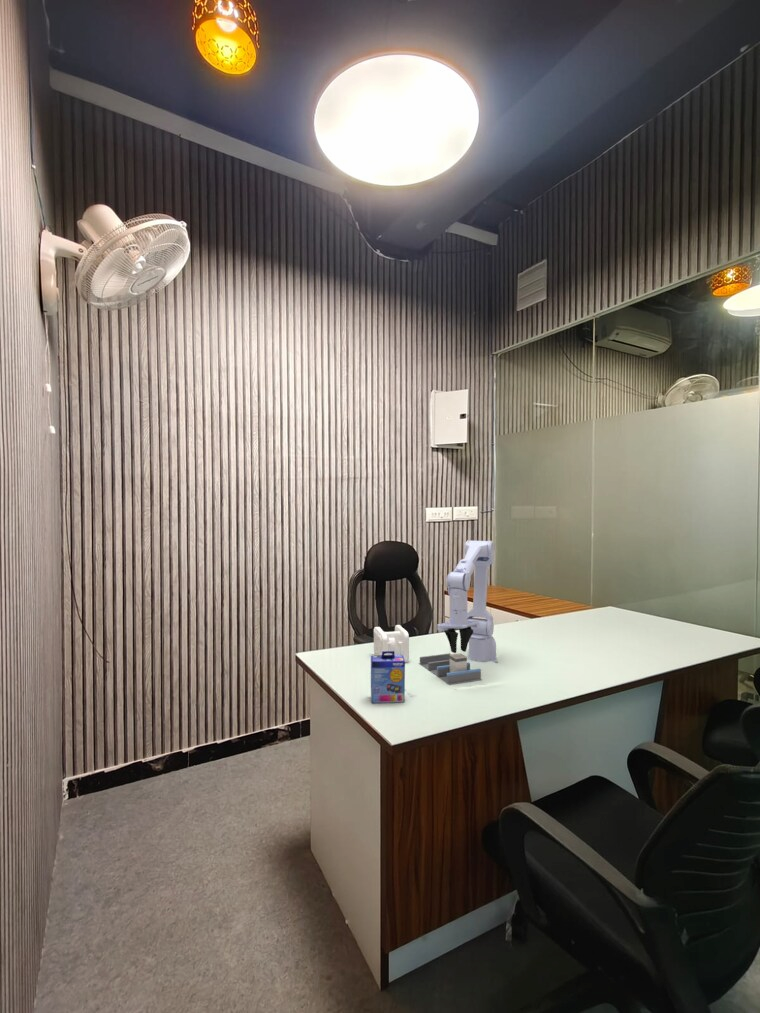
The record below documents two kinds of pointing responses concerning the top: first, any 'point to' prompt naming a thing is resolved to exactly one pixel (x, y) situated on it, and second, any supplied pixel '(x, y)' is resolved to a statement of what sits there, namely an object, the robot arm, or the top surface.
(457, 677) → the grey slotted rack
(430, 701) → the top surface
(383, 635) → the cable organizer
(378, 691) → the ink cartridge box
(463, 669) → the beige block
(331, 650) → the top surface
